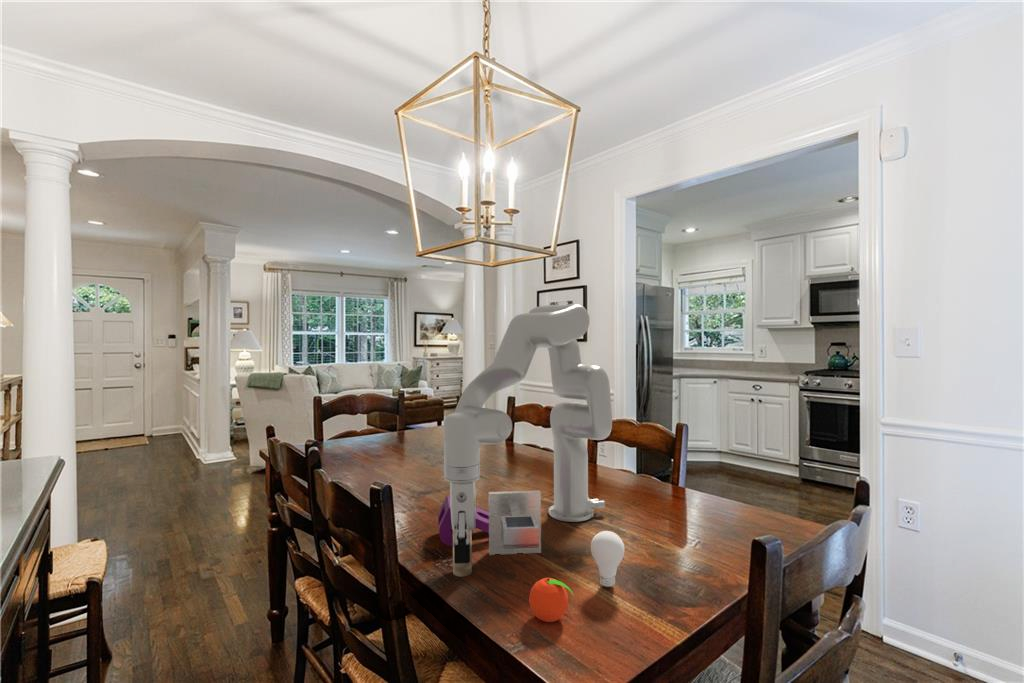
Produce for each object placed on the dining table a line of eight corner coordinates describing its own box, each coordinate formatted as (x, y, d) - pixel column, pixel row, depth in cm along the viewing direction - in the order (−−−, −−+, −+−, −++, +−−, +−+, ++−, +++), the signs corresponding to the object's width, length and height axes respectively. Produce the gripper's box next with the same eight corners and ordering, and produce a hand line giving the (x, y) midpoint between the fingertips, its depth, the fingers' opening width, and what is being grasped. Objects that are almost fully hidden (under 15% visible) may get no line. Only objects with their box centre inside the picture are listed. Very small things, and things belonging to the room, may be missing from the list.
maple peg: (471, 567, 105) (471, 512, 105) (471, 576, 101) (471, 518, 101) (453, 567, 105) (452, 512, 105) (452, 576, 101) (452, 519, 101)
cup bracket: (540, 549, 114) (539, 490, 114) (550, 582, 99) (550, 513, 99) (488, 552, 113) (488, 492, 113) (491, 585, 98) (491, 515, 98)
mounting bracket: (495, 550, 127) (432, 525, 124) (509, 520, 128) (447, 494, 125) (501, 567, 118) (433, 540, 115) (515, 534, 119) (448, 507, 116)
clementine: (576, 611, 88) (576, 572, 88) (571, 634, 81) (571, 592, 81) (533, 606, 90) (533, 567, 90) (525, 627, 83) (525, 586, 83)
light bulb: (584, 586, 97) (583, 532, 97) (603, 575, 101) (603, 523, 101) (612, 599, 92) (612, 542, 92) (631, 586, 97) (631, 532, 97)
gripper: (480, 482, 95) (480, 575, 95) (478, 461, 112) (479, 540, 112) (441, 484, 94) (442, 577, 94) (446, 461, 111) (446, 541, 111)
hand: (462, 556), depth 103 cm, fingers open, 4 cm apart
